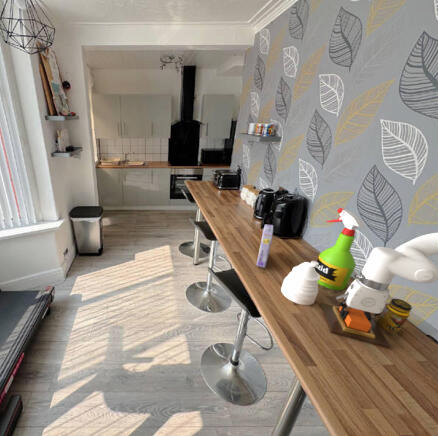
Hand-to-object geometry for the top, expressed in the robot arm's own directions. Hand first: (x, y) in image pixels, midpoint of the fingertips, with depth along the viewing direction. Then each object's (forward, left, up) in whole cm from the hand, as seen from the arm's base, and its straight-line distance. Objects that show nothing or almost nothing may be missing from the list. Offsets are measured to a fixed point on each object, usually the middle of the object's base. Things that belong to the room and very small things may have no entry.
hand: (353, 319), depth 88 cm
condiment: (-13, -5, -3) cm, 14 cm away
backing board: (0, 0, -3) cm, 3 cm away
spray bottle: (+1, -30, -3) cm, 30 cm away
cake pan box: (+29, -36, -3) cm, 46 cm away
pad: (0, 0, -1) cm, 1 cm away
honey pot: (+16, -11, -3) cm, 20 cm away
